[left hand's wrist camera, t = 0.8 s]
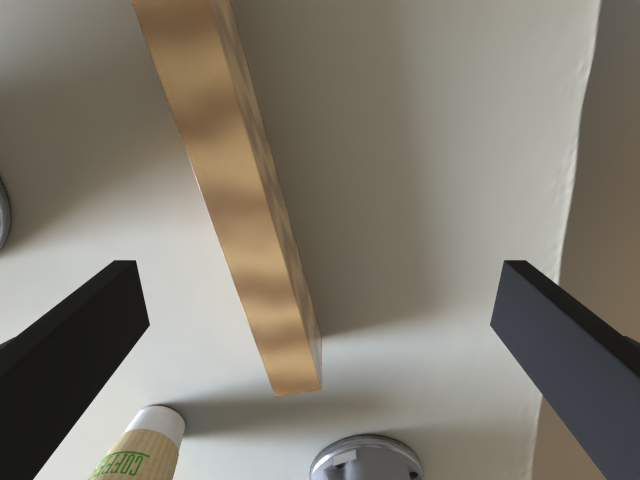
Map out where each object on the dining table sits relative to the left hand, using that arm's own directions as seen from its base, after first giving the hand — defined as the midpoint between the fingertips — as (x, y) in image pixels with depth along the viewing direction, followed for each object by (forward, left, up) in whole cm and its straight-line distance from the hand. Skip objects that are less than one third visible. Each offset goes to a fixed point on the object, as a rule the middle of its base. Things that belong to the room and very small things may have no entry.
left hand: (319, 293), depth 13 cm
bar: (+8, +10, -21) cm, 25 cm away
